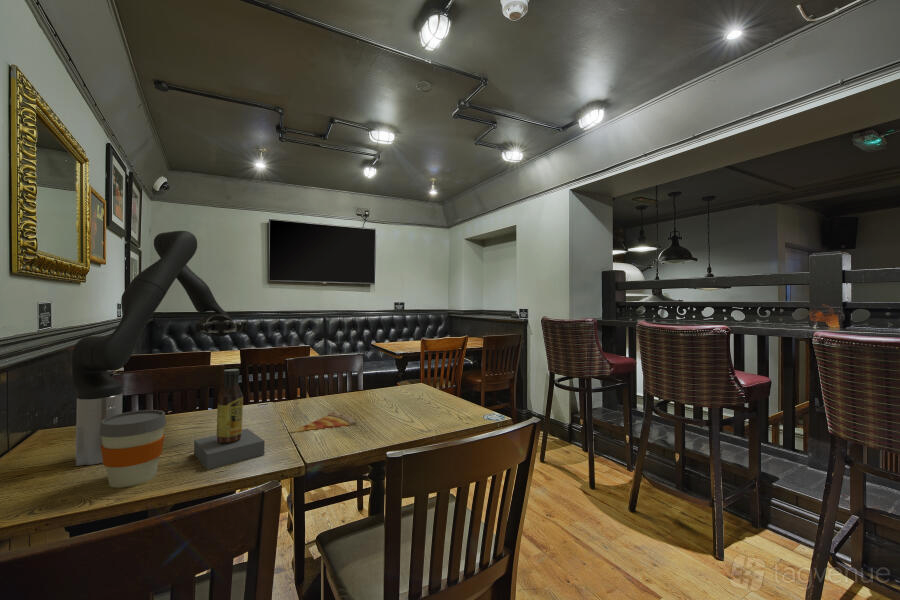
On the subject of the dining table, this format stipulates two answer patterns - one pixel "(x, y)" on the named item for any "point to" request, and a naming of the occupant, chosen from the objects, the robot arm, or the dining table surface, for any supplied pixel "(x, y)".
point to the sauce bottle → (229, 408)
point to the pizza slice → (328, 422)
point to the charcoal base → (228, 450)
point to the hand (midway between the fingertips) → (223, 328)
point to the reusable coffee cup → (132, 446)
